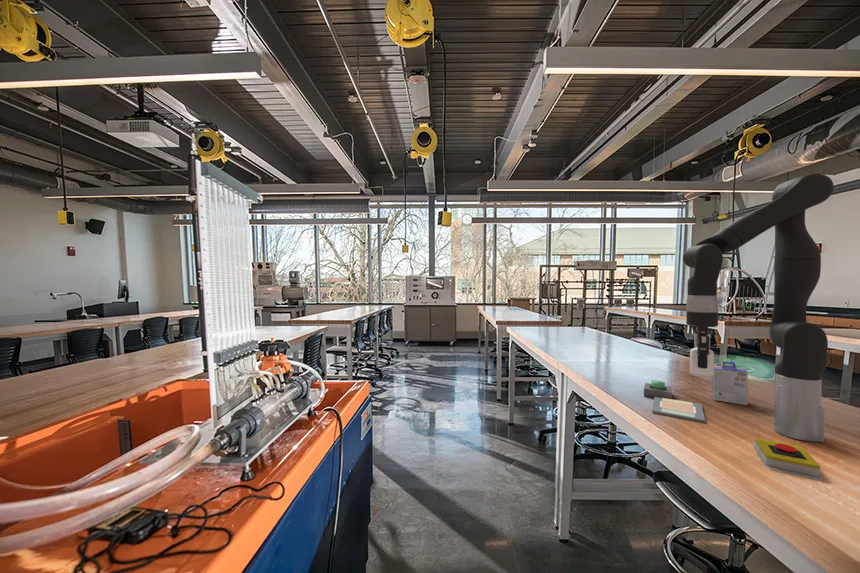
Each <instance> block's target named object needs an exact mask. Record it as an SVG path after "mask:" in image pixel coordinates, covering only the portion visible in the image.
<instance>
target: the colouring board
mask: <svg viewBox="0 0 860 573" xmlns="http://www.w3.org/2000/svg"><path fill="white" fill-rule="evenodd" d="M702 405H703V404H702V403H698V402H692V401H687V400H686V401H685V400H681V399H674V398H672V399H669V398H663V397H656V396H654V398H653V405H652V412H651V413H652V414H657V415H662V416H668V417H672V418H678V419H683V420H688V421H692V422H699V423H704V424H706V417H705V413H704V410H703V406H702Z"/></svg>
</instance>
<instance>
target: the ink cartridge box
mask: <svg viewBox="0 0 860 573" xmlns="http://www.w3.org/2000/svg"><path fill="white" fill-rule="evenodd" d="M728 364H729V365H728ZM748 375H749V374H748V371H747V370H746V369H742V368H737V367H736V362H733V361H732V362H731V361H722V366H714V376H712V377H711V378H712V380H711V381H712V384H711V385H712V386H711V387H712V390H711V391H712V393H711V394H712V395H711V396H712V400H713V401H717V402H718V401H720V402H725V403H729V404H737V405H738V404H739V405H744V406H748V392H749V391H748Z"/></svg>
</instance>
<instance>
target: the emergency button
mask: <svg viewBox="0 0 860 573" xmlns="http://www.w3.org/2000/svg"><path fill="white" fill-rule="evenodd" d="M754 441H755V442H754V443H753V444H752V447H753V448H754V450H755V452H756V451H757V452H756V453H757V454H758V457H759V458H760V459H761V461H762V463H763V465H765V467H766V469H769V470H770V471H775V472H780V473H783V474H789V475H792V476H798V477H802V478H807V479H812V480H815V481H819V482H820V481H824V478H823V477H822V475H821V469H820V468H821V467H820V464H819V463H818V462H817V461H816V459H815V458H814V457H813V456H812V454H810V453H809V452H808V451H807V450H806V449H805V447H803V446H801V445H798V444H791V443H786V442H781V441H776V440H770V439H765V438H758V437H756V438H755V440H754Z"/></svg>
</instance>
